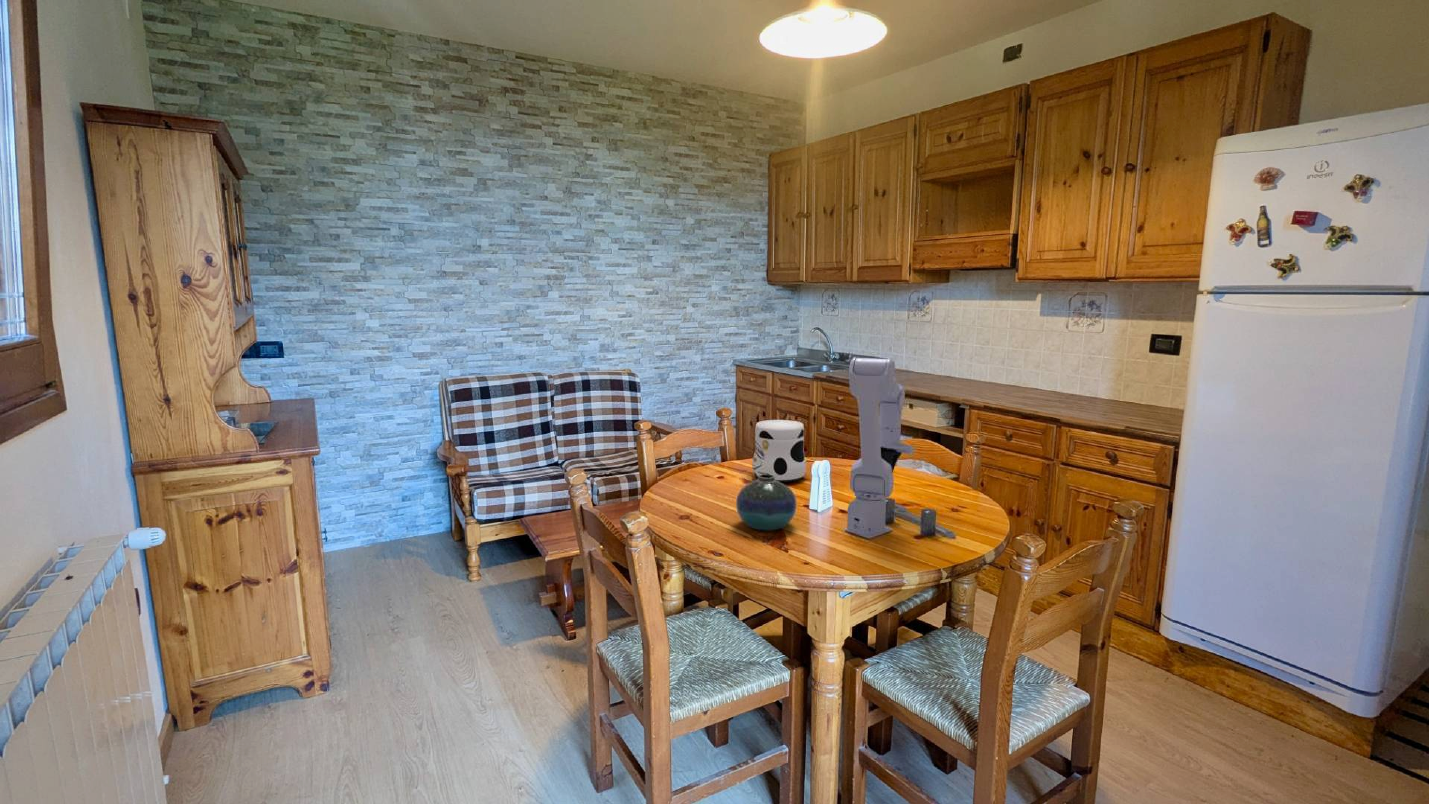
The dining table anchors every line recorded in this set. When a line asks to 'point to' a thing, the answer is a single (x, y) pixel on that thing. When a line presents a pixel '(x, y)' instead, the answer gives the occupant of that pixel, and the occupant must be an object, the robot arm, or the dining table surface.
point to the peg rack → (926, 518)
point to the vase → (766, 504)
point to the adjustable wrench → (904, 513)
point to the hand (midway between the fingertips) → (888, 475)
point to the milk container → (779, 450)
